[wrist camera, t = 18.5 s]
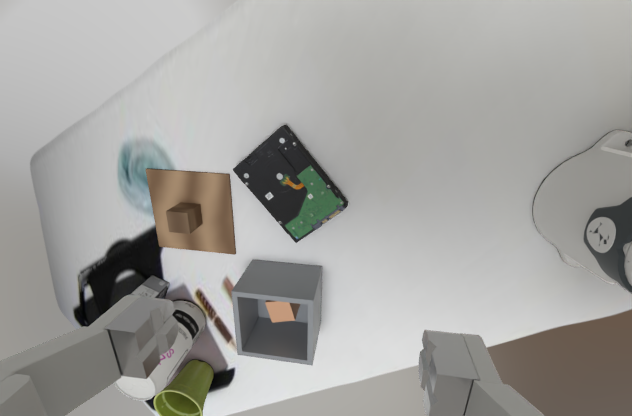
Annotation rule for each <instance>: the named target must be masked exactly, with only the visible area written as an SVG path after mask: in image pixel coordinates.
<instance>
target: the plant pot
mask: <svg viewBox="0 0 632 416" xmlns="http://www.w3.org/2000/svg"><path fill="white" fill-rule="evenodd" d="M213 374H214V372H213V369H212V368H211V366H210V365H208V364H207V363H206V362H200V361H198V360H192V361H190V362H189V363H188V364H187V365H186V366H185V367H184V368H183V369H182V370H181V372H180V373H179V374H178V375H177V376H176V377H175V379H174V380H173V381H172V382H171V383H170V384H169V385H168V386H167V387H166V388H164V390H162V391H161V392H160V393H158V394H157V395H156V396H155V398H154V407H155V409H156V411H157V412H158V414H159V415H160V416H202V415H203V412H202V411H203V407H204V402H205V399H206V396H207V393H208V390H209V388H210V385H211V382H212V379H213Z"/></svg>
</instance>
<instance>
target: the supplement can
mask: <svg viewBox="0 0 632 416" xmlns="http://www.w3.org/2000/svg"><path fill="white" fill-rule="evenodd" d="M173 303H174V307H175V311H174V313H173V314H172V315H173V317H174V318H175V319H176V320H177V322H178V335H177V337H176V340H175V343H174V344H173V346H172V347H171V348H170V350H169V351H167V352H165V353H163V354H162V355H160V363H159V364H158V365H157V367H156V368H155V369H154V370H153V372H152V373H151V374H150V376H149V377H148V378H147V379H142V378H134V377H126V376H121V378H120V379H118V380H117V381H116V382H114V385H115V386H116V387H117V389H118V390H119V391H120V392H122V393H123V394H124V395H126V396H128V397H129V398H132V399H135V400H141V401H145V400H149V399H151V398H152V397H153V396H154V395H156V394H158V393H160V392H161V391H162V390H163V389H164V388H165V386H166V385H167V383H168V382H169V380H170V379H171V377H172V376H173V374H174V373H175V371H176V370H177V368H178V367H179V365H180V364H181V363H182V361H183V360H184V358H185V357H186V355H187V354H188V352H189V351H190V349H191V348H192V346H193V345H194V343H195V342H196V340H197V339H198V337H199V336H200V335H201V333H202V332H203V330H204V328H205V325H206V322H205V317H204V315H203V313H202V311H201V310H200V309H199V308H198V307H197V306H196V305H194V304H193V303H191V302H187V301H174V302H173Z"/></svg>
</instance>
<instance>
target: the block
mask: <svg viewBox="0 0 632 416" xmlns="http://www.w3.org/2000/svg"><path fill="white" fill-rule="evenodd" d="M265 304H266V307H267V310H268V312H269V315H270V318H271V321H272V323H273V322H284V321H294V320H295V319H296V316H297V313H298V310H299V306H300V304H298V303H289V302H280V301H272V300H266V302H265Z"/></svg>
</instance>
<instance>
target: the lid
mask: <svg viewBox="0 0 632 416" xmlns="http://www.w3.org/2000/svg"><path fill="white" fill-rule="evenodd" d="M146 174H147V180H148V185H149V191H150V196H151V202H152V207H153V213H154V219H155V224H156V230H157V235H158V241H159V246H160V247H169V248H178V249H188V250H198V251H207V252H217V253H226V254H236V248H235V235H234V222H233V210H232V197H231V184H230V174H222V173H207V172H192V171H177V170H162V169H146Z"/></svg>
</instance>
